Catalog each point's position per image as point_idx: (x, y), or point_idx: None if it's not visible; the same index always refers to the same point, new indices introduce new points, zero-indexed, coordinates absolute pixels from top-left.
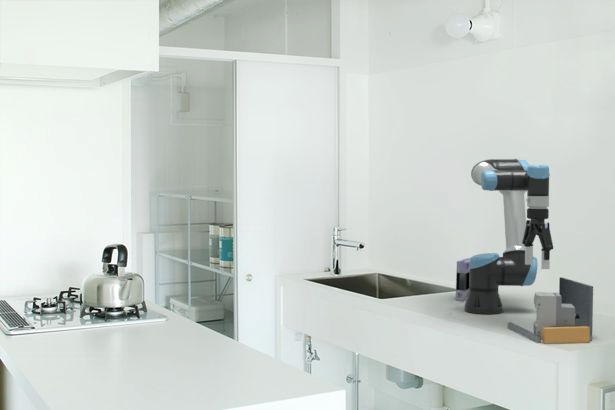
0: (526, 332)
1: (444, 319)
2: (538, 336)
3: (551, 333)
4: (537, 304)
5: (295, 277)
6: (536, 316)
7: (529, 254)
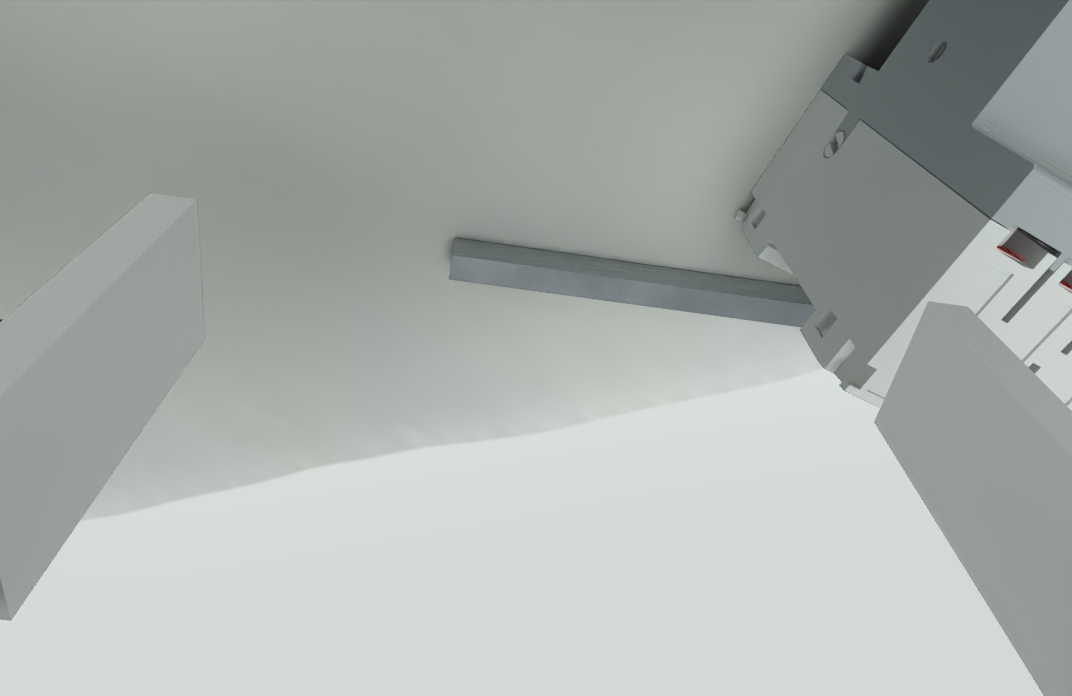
0: (789, 321)
1: (98, 498)
2: None
3: None
4: None
5: None
6: (785, 259)
7: (109, 388)
